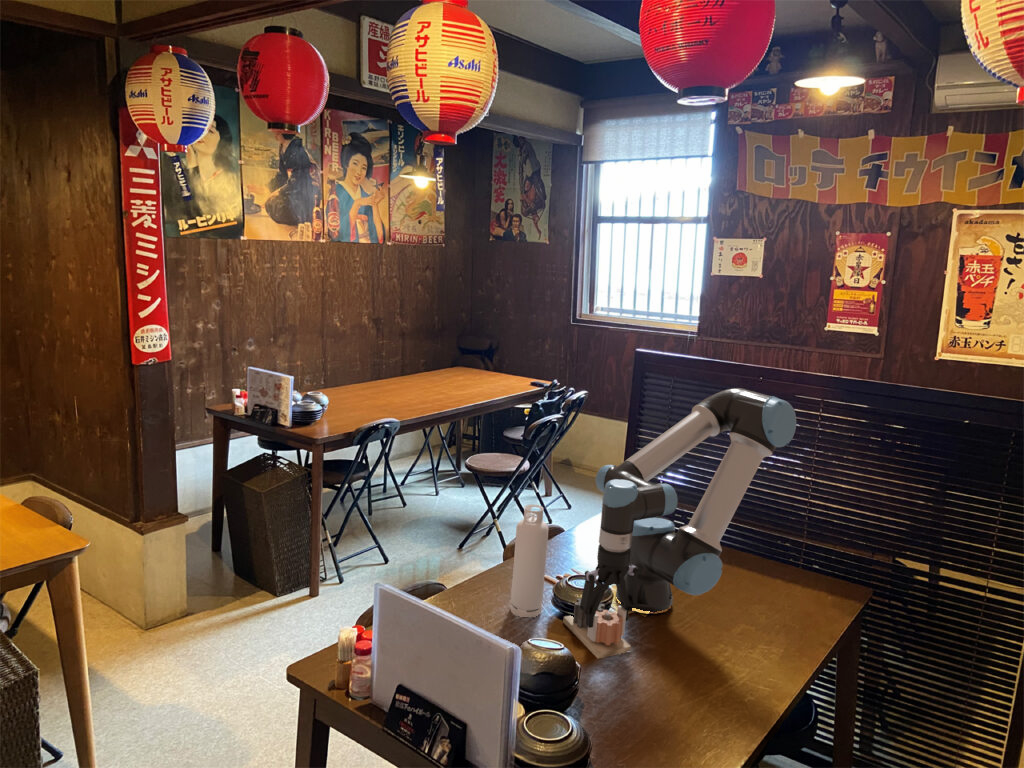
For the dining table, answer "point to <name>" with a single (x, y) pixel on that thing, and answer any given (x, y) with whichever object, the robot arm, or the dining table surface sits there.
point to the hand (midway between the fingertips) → (605, 635)
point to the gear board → (581, 629)
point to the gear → (609, 628)
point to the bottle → (529, 563)
